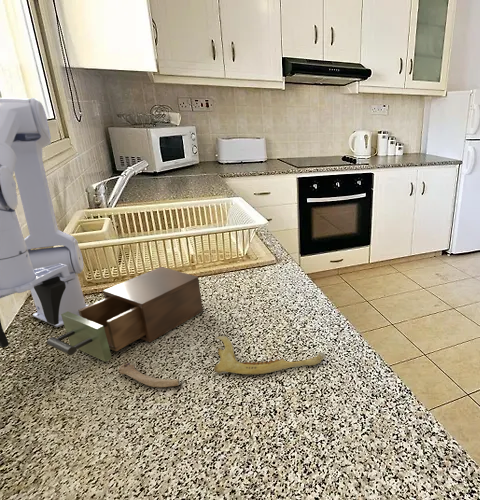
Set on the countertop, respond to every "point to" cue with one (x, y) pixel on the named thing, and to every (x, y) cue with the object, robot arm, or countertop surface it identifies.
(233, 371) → the jawbone
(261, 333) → the countertop surface
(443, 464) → the countertop surface
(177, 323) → the cabinet
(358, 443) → the countertop surface
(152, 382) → the bone
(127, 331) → the drawer
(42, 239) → the robot arm
